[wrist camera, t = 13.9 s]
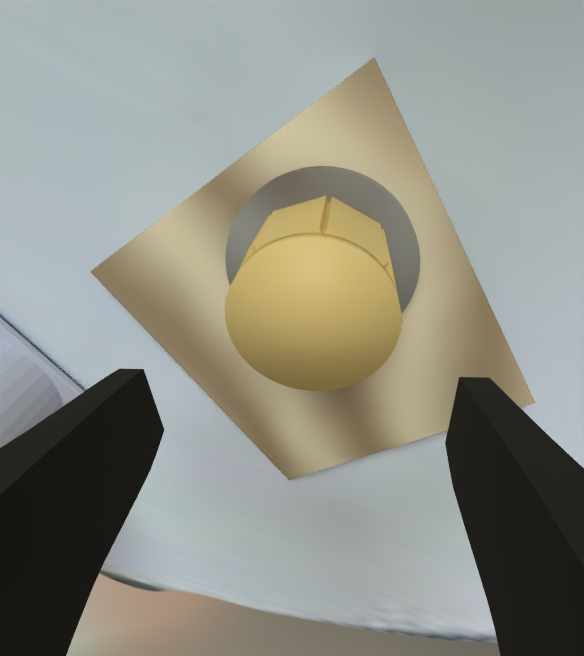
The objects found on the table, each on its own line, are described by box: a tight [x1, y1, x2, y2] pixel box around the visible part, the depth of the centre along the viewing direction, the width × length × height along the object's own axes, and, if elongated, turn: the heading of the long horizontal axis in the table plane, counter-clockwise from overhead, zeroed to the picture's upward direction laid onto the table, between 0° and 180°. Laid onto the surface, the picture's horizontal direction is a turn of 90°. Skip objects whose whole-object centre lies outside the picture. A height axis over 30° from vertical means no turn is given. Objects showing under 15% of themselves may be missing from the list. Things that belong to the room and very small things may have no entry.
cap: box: [225, 196, 404, 391], centre depth 14 cm, size 5×5×4 cm
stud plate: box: [91, 58, 535, 480], centre depth 17 cm, size 14×16×3 cm
